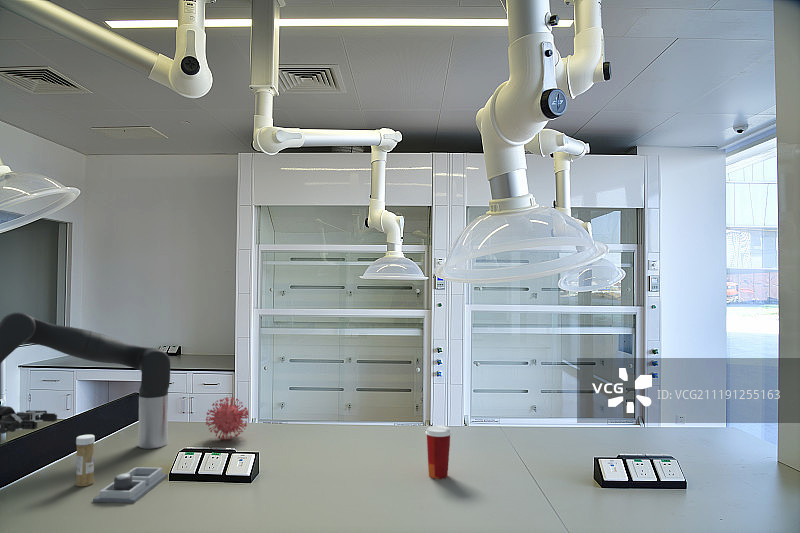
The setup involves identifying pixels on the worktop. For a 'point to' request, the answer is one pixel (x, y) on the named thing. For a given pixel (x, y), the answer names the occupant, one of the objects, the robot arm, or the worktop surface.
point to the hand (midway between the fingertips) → (46, 421)
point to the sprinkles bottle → (85, 460)
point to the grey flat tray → (131, 485)
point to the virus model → (227, 418)
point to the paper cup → (438, 451)
